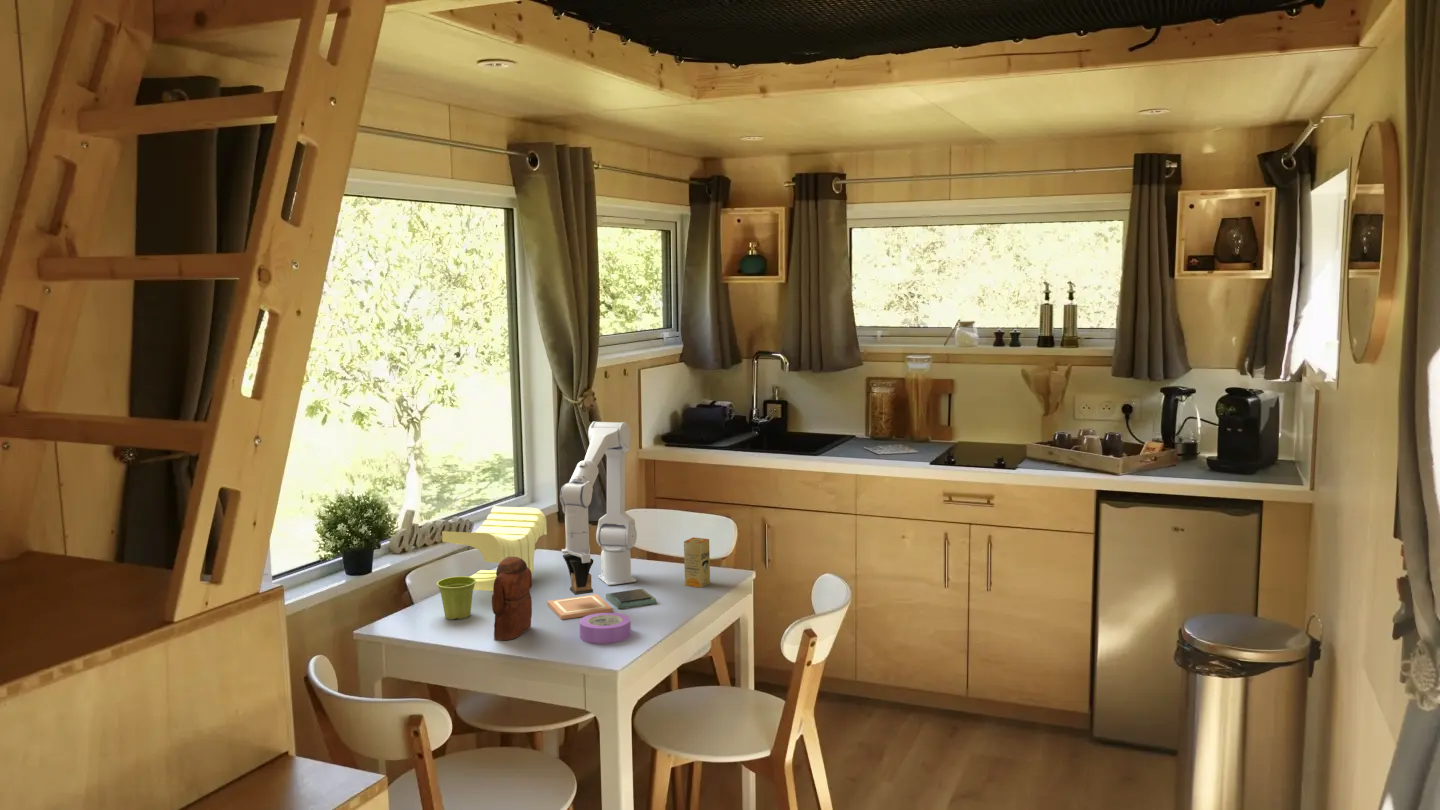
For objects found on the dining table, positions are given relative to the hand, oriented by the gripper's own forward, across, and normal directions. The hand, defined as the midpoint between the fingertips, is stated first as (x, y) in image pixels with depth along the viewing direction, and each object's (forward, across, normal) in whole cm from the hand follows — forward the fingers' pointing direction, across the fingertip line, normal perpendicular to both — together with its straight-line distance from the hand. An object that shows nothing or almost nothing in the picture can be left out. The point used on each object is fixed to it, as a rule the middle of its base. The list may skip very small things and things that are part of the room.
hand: (578, 584), depth 266 cm
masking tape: (+7, +22, 0) cm, 23 cm away
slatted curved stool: (+6, -31, -13) cm, 35 cm away
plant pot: (+6, -8, -28) cm, 30 cm away
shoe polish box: (+6, -6, +34) cm, 36 cm away
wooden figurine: (+6, +11, -20) cm, 23 cm away
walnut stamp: (+2, 0, +1) cm, 2 cm away
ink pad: (+6, 0, +14) cm, 15 cm away
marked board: (+6, 0, 0) cm, 6 cm away
